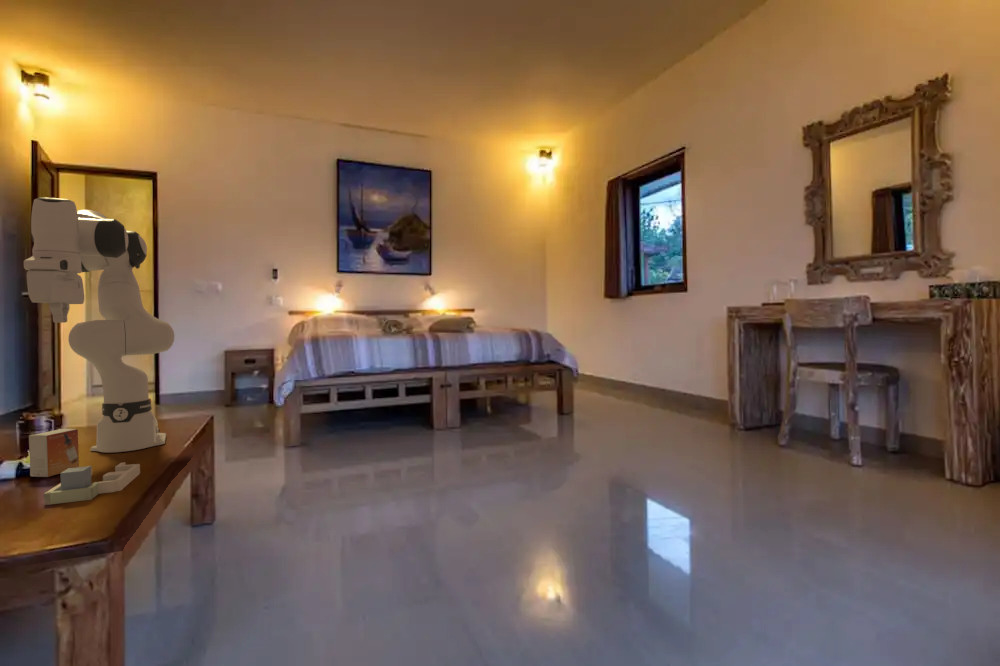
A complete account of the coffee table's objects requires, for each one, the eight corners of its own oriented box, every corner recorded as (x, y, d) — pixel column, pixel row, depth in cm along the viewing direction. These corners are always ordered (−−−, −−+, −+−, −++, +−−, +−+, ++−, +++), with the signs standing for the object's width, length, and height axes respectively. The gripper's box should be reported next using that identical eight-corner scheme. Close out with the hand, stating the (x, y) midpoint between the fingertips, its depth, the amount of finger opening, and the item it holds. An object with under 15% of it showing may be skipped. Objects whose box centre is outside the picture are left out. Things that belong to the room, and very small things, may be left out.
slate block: (69, 495, 113) (68, 468, 113) (91, 492, 114) (90, 465, 114) (61, 501, 109) (60, 473, 109) (84, 498, 110) (83, 470, 110)
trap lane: (87, 475, 127) (86, 466, 127) (144, 469, 131) (143, 460, 131) (44, 505, 107) (43, 493, 106) (113, 497, 111) (113, 486, 111)
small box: (47, 478, 126) (45, 435, 126) (29, 477, 127) (27, 435, 127) (80, 468, 134) (78, 428, 134) (62, 467, 135) (61, 428, 135)
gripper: (60, 268, 132) (63, 322, 132) (19, 260, 112) (22, 323, 113) (90, 268, 134) (93, 321, 134) (54, 261, 115) (57, 323, 115)
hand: (60, 322), depth 124 cm, fingers closed
